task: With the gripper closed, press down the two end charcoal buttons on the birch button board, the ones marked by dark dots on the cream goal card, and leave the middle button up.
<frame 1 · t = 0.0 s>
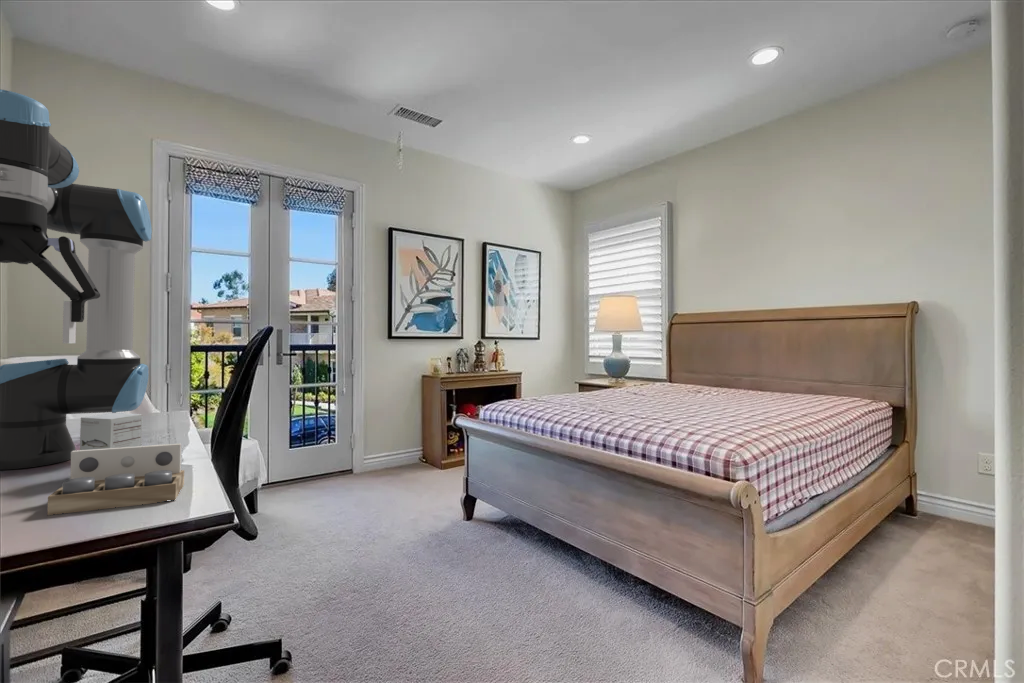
hand: (8, 342, 70), 28 cm above the table, tool pointing down, fingers open, 13 cm apart
supplement box: (110, 476, 98), on the table
button board: (122, 498, 84), on the table
button b: (119, 483, 82), point 3 cm above the table, slide at 0.0 cm
goal card: (122, 482, 84), resting on button board
button a: (78, 487, 80), point 3 cm above the table, slide at 0.0 cm
button c: (158, 480, 85), point 3 cm above the table, slide at 0.0 cm
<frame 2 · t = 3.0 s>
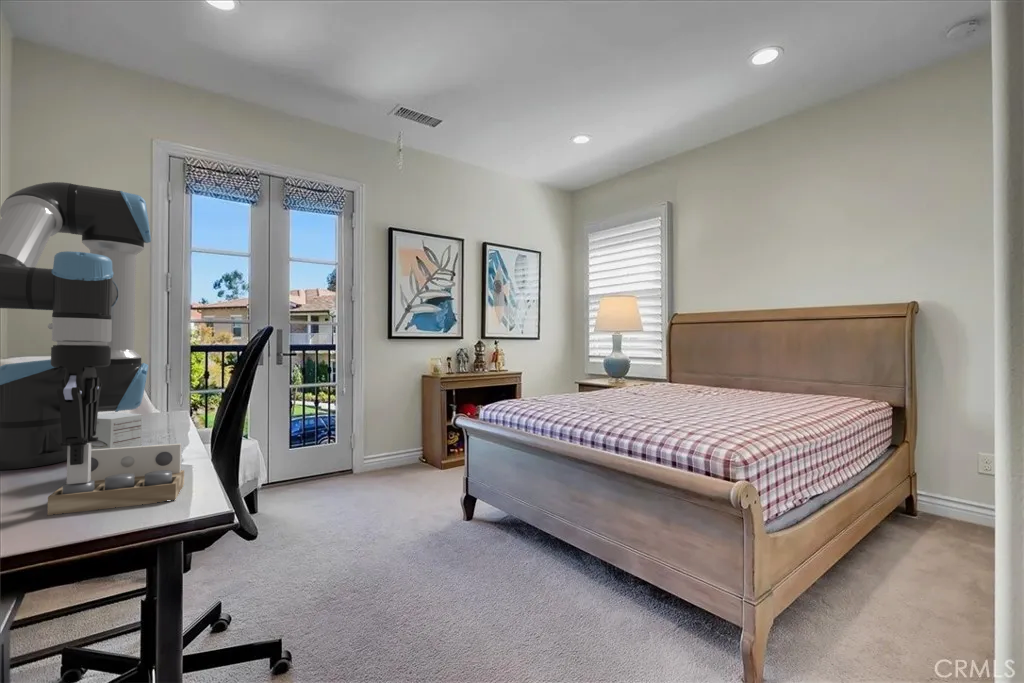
hand: (78, 482, 80), 4 cm above the table, tool pointing down, fingers closed
button a: (78, 490, 80), point 3 cm above the table, slide at 0.5 cm, touching gripper
everything else where it was.
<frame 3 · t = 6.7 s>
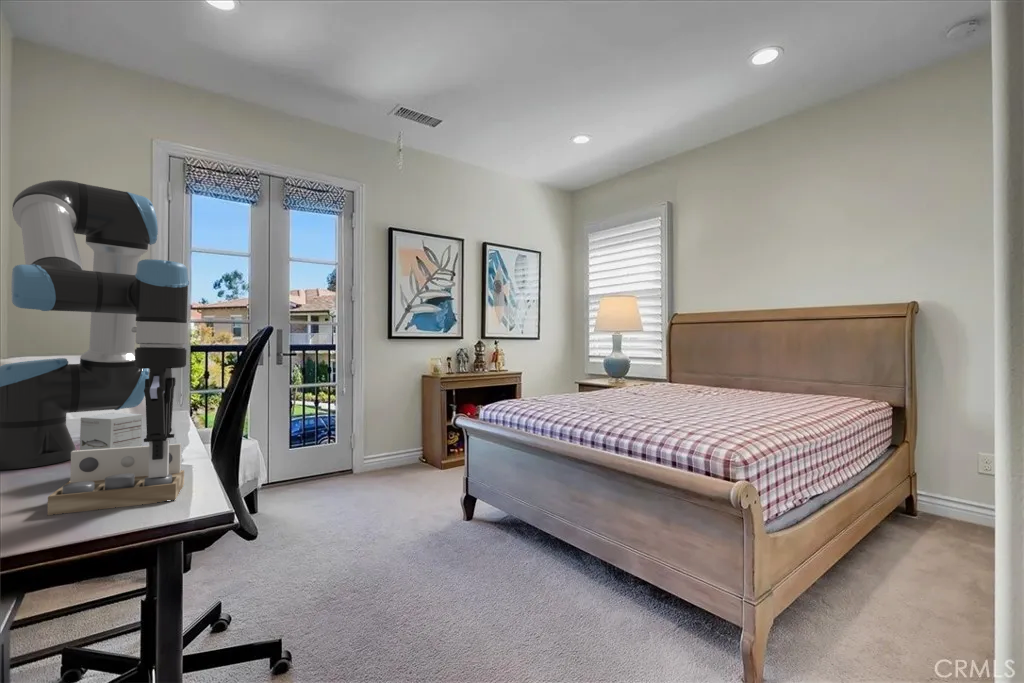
hand: (158, 475, 85), 4 cm above the table, tool pointing down, fingers closed
button a: (78, 492, 80), point 3 cm above the table, slide at 0.7 cm
button c: (158, 483, 85), point 3 cm above the table, slide at 0.7 cm, touching gripper
everything else where it was.
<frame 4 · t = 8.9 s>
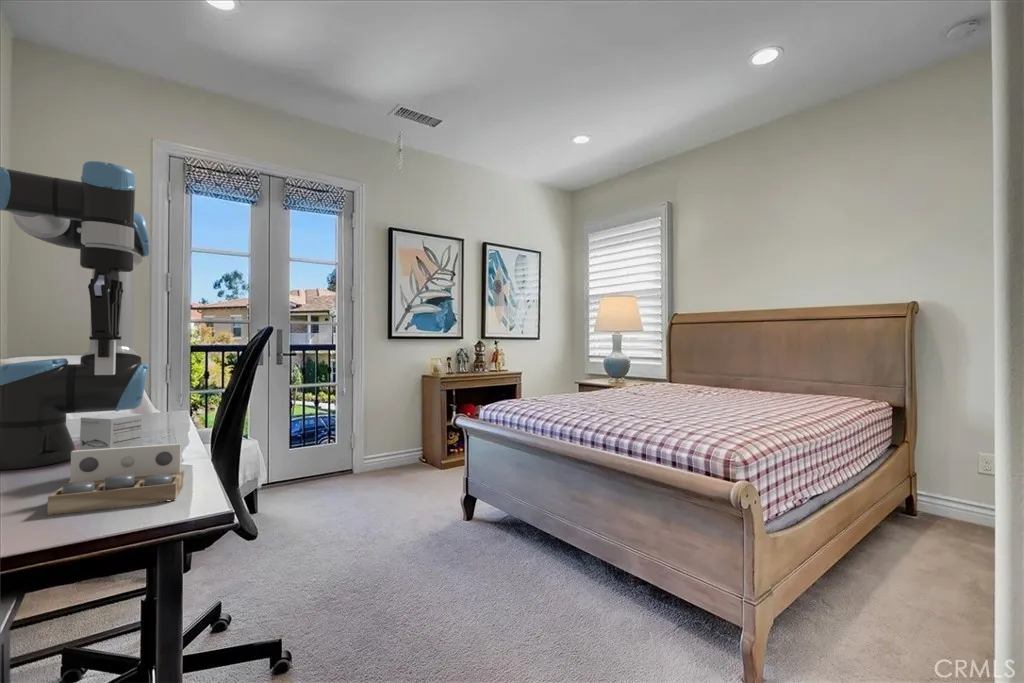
hand: (105, 374, 88), 22 cm above the table, tool pointing down, fingers closed
button c: (158, 484, 85), point 3 cm above the table, slide at 0.7 cm
everything else where it was.
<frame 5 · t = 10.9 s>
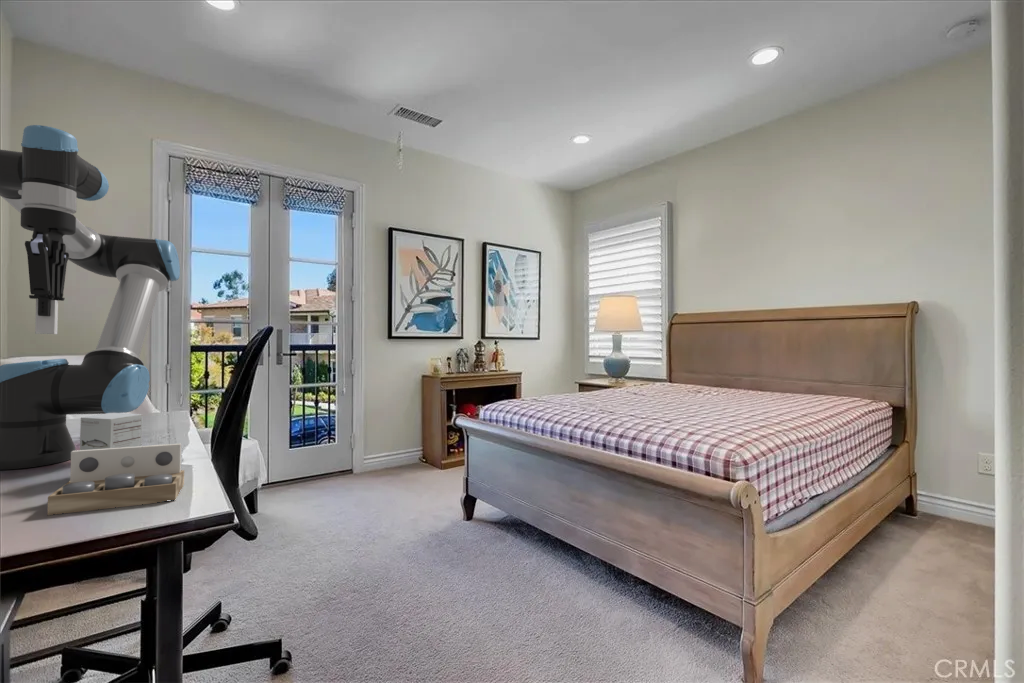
hand: (46, 333, 90), 29 cm above the table, tool pointing down, fingers closed
nothing on the table moved.
at the end: button a slide at 0.7 cm; button c slide at 0.7 cm; button b slide at 0.0 cm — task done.
